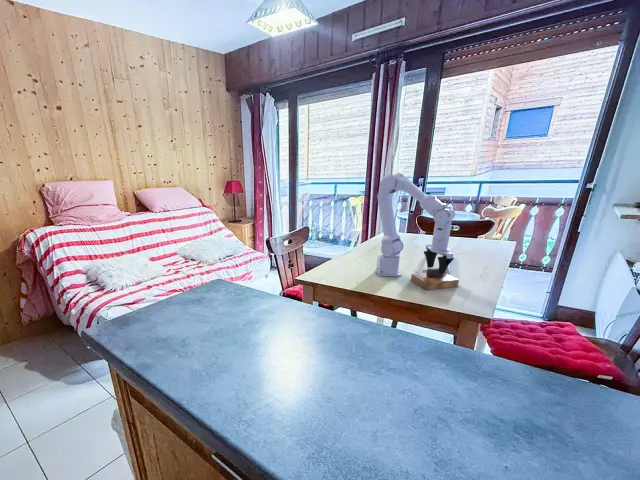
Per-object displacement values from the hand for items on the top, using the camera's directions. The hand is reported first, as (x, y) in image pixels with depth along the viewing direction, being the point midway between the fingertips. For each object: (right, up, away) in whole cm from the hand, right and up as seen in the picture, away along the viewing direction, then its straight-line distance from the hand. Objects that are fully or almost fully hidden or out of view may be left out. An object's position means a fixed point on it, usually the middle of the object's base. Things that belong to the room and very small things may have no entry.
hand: (435, 270), depth 136 cm
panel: (0, -5, +2) cm, 6 cm away
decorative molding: (+14, +4, +23) cm, 27 cm away
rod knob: (0, -3, +1) cm, 3 cm away
